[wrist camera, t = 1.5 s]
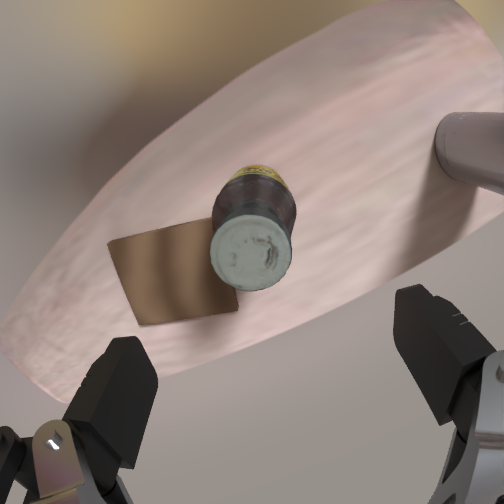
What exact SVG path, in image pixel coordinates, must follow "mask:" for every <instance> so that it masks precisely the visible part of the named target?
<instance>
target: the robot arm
mask: <svg viewBox="0 0 504 504" xmlns="http://www.w3.org/2000/svg"><path fill="white" fill-rule="evenodd" d="M435 144H436V153H437V157H438V160H439V162H440V164H441V166H442V168H443V169H444V171H445V172H446V173H447V174H448V175H449V176H451V177H452V178H454V179H457V180H460V181H463V182H466V183H469V184H472V185H475V186H478V187H481V188H484V189H487V190H490V191H493V192H496V193H499V194H501V195H504V113H496V112H454V113H451V114H448V115H447V116H445V117H444V118H443V120H442V121H441V122H440V124H439V126H438V129H437V132H436V139H435ZM393 335H394V342H395V345H396V348H397V350H398V352H399V353H400V355H401V357H402V358H403V360H404V362H405V364H406V365H407V367H408V369H409V370H410V372H411V374H412V376H413V378H414V379H415V381H416V383H417V384H418V386H419V388H420V390H421V392H422V394H423V395H424V397H425V399H426V401H427V403H428V405H429V407H430V409H431V410H432V412H433V414H434V416H435V418H436V420H437V422H438V424H439V426H441V425H443V424H445V423H448V422H450V421H452V420H453V422H454V424H455V425H456V428H455V430H454V432H453V437H452V440H451V444H450V448H449V451H448V455H447V458H446V461H445V465H444V467H443V470H442V474H441V476H440V479H439V482H438V485H437V487H436V490H435V492H434V494H433V495H432V497H431V499H430V500H429V502H428V504H504V350H501V351H496V349H495V348H494V347H493V346H492V345H491V344H490V343H489V342H488V341H487V339H486V338H485V337H484V336H483V335H482V334H481V333H480V332H479V331H478V330H477V329H476V327H475V326H474V325H473V324H472V323H471V322H468V319H467V318H466V317H465V316H464V315H463V314H461V312H460V311H459V310H458V309H457V308H456V307H455V306H454V305H453V304H452V303H451V302H450V301H448V300H446V299H444V298H442V297H440V296H434V297H433V296H432V294H431V293H429V291H428V290H426V289H425V288H424V287H423V285H421V284H417V285H413V286H409V287H406V288H402V289H398V290H397V291H396V295H395V311H394V327H393ZM157 388H158V378H157V374H156V371H155V369H154V367H153V365H152V363H151V361H150V359H149V357H148V355H147V354H146V352H145V350H144V348H143V345H142V343H141V342H140V340H139V339H138V338H137V337H136V336H129V337H118V338H114V339H112V341H111V342H110V344H109V346H108V347H107V349H106V351H105V353H104V354H102V355H101V356H100V357H99V358H98V359H97V360H96V361H95V362H94V363H93V364H92V365H91V367H90V369H89V371H88V372H87V374H86V377H85V378H84V379H83V381H82V383H81V387H79V388H78V390H77V392H76V394H75V396H74V397H73V399H72V401H71V403H70V405H69V407H68V409H67V411H66V413H65V414H64V416H63V418H62V420H51V421H49V422H47V423H45V424H43V425H42V426H41V427H40V428H39V429H38V430H37V431H36V433H35V435H34V437H27V438H20V437H19V436H18V435H17V434H16V433H15V432H14V431H13V430H12V429H11V428H10V427H8V426H2V427H0V504H5V502H6V499H7V497H8V494H9V491H10V489H11V486H12V483H13V481H14V479H15V480H16V481H17V482H18V483H20V484H21V485H22V486H23V487H25V488H26V489H27V490H28V491H27V493H26V496H25V499H24V502H23V504H133V501H132V500H131V498H130V496H129V494H128V492H127V490H126V488H125V486H124V483H123V481H122V479H121V478H120V477H119V475H117V473H118V469H119V467H120V468H127V469H134V467H135V463H136V460H137V456H138V452H139V449H140V445H141V442H142V439H143V435H144V432H145V428H146V425H147V421H148V418H149V415H150V412H151V408H152V405H153V402H154V399H155V395H156V392H157Z"/></svg>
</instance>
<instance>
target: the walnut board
mask: <svg viewBox="0 0 504 504" xmlns="http://www.w3.org/2000/svg"><path fill="white" fill-rule="evenodd" d="M213 234H214V231H213V226H212V217H210V218H205V219H201V220H196V221H192V222H187V223H183V224H178V225H174V226H170V227H165V228H161V229H157V230H153V231H148V232H144V233H140V234H136V235H132V236H128V237H124V238H120V239H116V240H112V241H110V242H109V243H108V244H107V246H108V249H109V251H110V254H111V257H112V260H113V262H114V265H115V268H116V271H117V273H118V276H119V278H120V281H121V283H122V286H123V288H124V291H125V293H126V296H127V298H128V301H129V303H130V305H131V308H132V310H133V312H134V315H135V317H136V319H137V321H138V324H139V325H142V324H150V323H158V322H166V321H173V320H181V319H188V318H195V317H201V316H208V315H215V314H221V313H227V312H233V311H238V302H237V298H236V294H235V291H234V287H232V286H230V285H228V284H227V283H225V282H224V281H222V280H221V279H220V277H219V276H218V275H217V274H216V272H215V271H214V269H213V266H212V264H211V262H210V254H209V250H210V243H211V240H212V237H213Z"/></svg>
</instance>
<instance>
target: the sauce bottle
mask: <svg viewBox="0 0 504 504" xmlns="http://www.w3.org/2000/svg"><path fill="white" fill-rule="evenodd" d="M295 219H296V204H295V201H294V199H293V196H292V194H291V192H290V191H289V189H288V187H287V186H286V184H285V183H284V181H283V179H282V178H281V177H280V175H279V174H278V173H277V172H276V171H274V170H273V169H271V168H269V167H267V166H263V165H250V166H247V167H244V168H242V169H240V170H239V171H238V172H237V173H236V174H235V175H234V176H233V177H232V178H231V179H230V180H229V181H228V182H227V183H226V185H225V186H224V187H223V188H222V190H221V192H220V193H219V195H218V196H217V198H216V201H215V203H214V206H213V211H212V226H213V231H214V234H213V237H212V240H211V243H210V250H209V254H210V262H211V264H212V266H213V269H214V271H215V272H216V274H217V275H218V276H219V277H220V279H221V280H222V281H224V282H225V283H227V284H228V285H230V286H232V287H234V288H236V289H238V290H242V291H257V290H263V289H265V288H268V287H271V286H273V285H274V284H275V283H277V282H279V281H280V279H281V278H282V277H283V276H284V275H285V274H286V271H287V269H288V268H289V266H290V263H291V259H292V247H291V234H292V230H293V227H294V223H295Z"/></svg>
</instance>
